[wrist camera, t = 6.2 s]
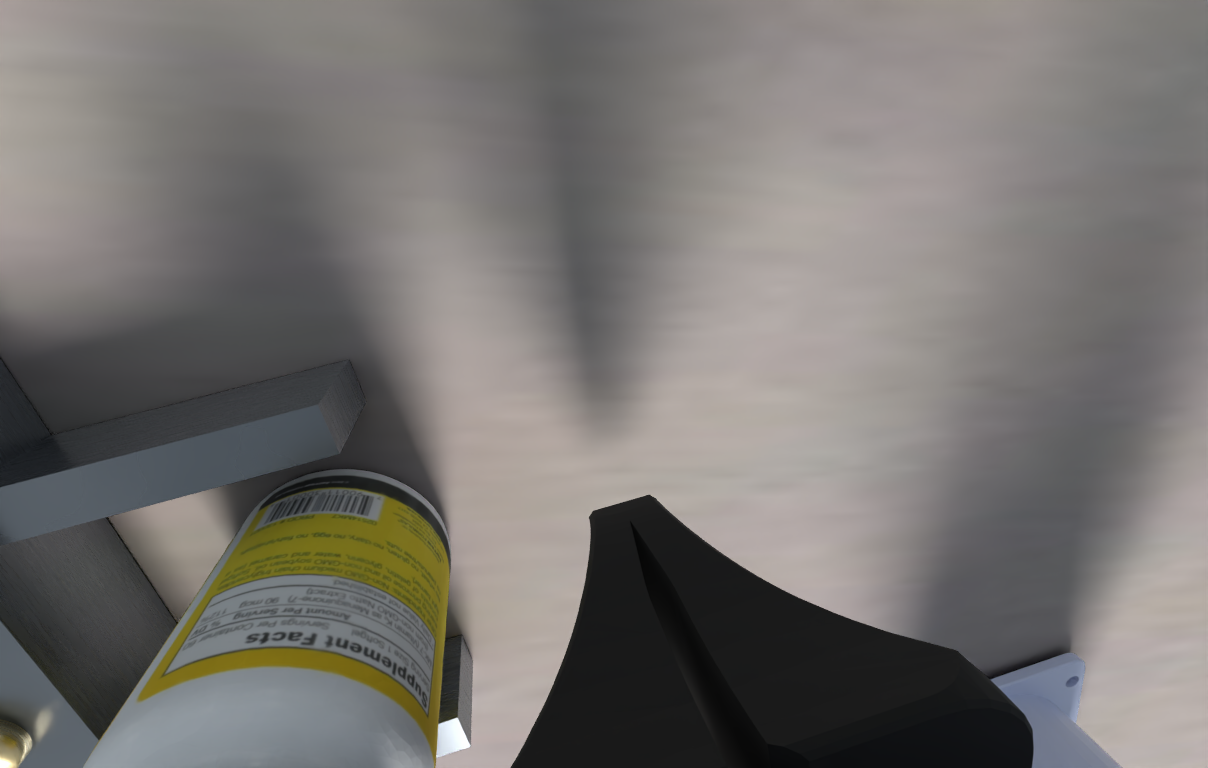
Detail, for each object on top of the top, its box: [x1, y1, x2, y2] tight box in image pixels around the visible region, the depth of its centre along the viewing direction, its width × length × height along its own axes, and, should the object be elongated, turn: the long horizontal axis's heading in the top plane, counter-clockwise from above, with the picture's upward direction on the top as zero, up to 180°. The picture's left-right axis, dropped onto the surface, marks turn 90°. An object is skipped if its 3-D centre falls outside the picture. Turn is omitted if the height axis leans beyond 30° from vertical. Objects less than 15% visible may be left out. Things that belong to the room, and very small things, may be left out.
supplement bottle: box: [83, 469, 451, 768], centre depth 10 cm, size 5×5×8 cm
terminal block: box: [0, 359, 473, 768], centre depth 12 cm, size 16×9×3 cm, turn 12°
